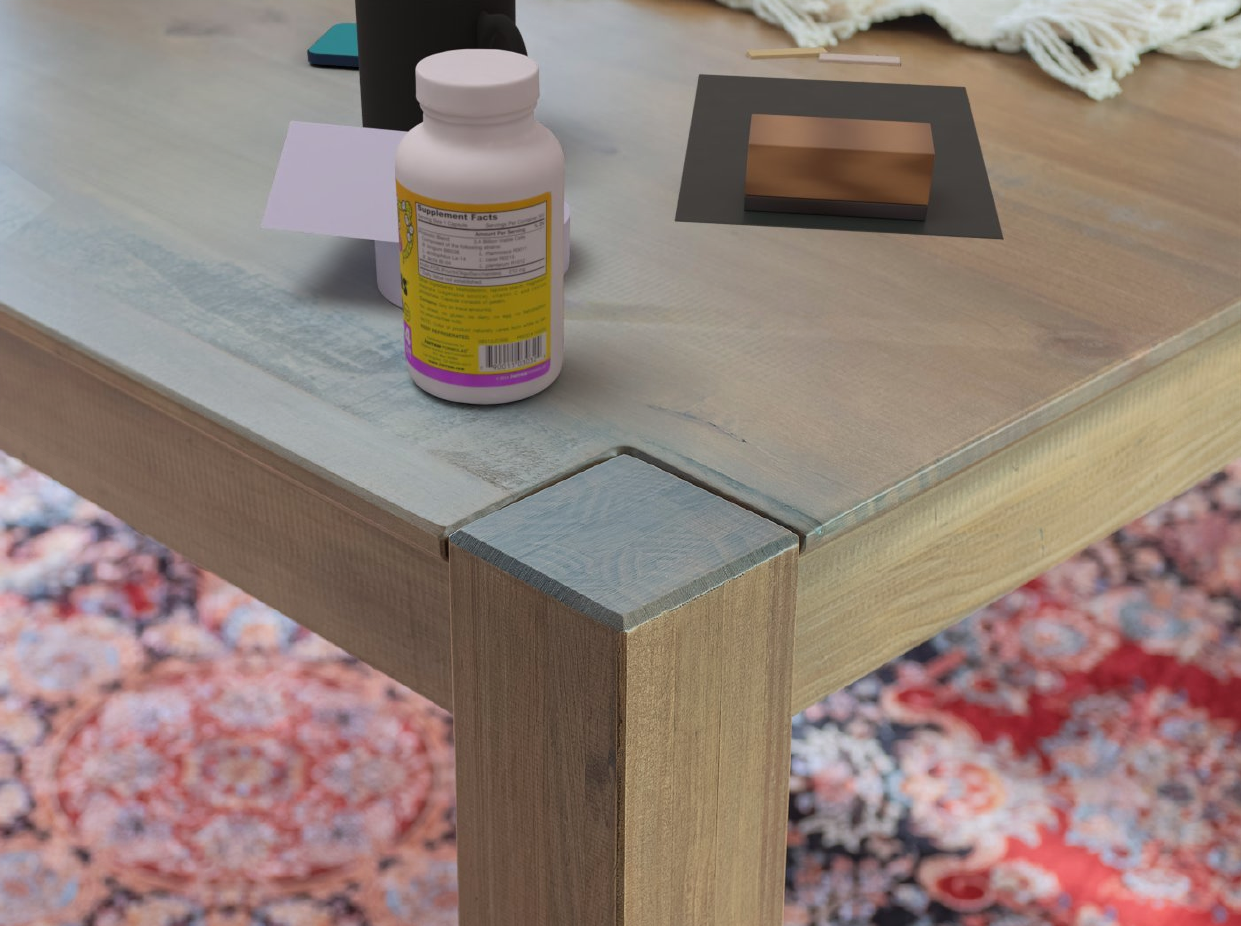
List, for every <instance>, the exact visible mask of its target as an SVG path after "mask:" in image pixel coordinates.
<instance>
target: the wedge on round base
mask: <svg viewBox="0 0 1241 926" xmlns="http://www.w3.org/2000/svg"><path fill="white" fill-rule="evenodd" d="M407 133H408V132H405V131H395V130H384V129H374V128H363V126H351V125H342V124H331V123H321V122H312V121H311V122H310V121H299V120H290V123H289V125H288V129H287V134H286V136H285V140H284V144H283V147H282V149H281V154H280V157H279V161H278V164H277V168H276V171H275V175H274V177H273V182H272V185H271V188H270V192H269V196H268V199H267V202H266V205H265V210H264V213H263V216H262V220H261V222H260V226H259V227H260V228H261V229H269V230H279V231H288V232H297V233H306V234H316V235H326V236H334V237H343V238H351V239H352V238H353V239H361V240H372V241H374V251H375V252H374V253H375V267H376V268H375V269H376V270H375V271H376V283H377V288H378V290H379V292H380V294H381V295H382V296H383V297H384V298H385V299H386V300H387V301H389V302H390V303H391V304H393V305H395V306H397V307H399V308H401V309H402V290H401V271H400V252H399V233H398V215H397V197H396V181H395V155H396V151H397V148H398V146H399V144H400V142H401V140H402V139H403V137H404V136H405V135H406V134H407ZM570 259H571V207H570V205H569V204H568V202H567V201H566V200H565V199H564V275H566V273H567V271H568V270H569V267H570V262H571V261H570Z"/></svg>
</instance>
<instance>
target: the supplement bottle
mask: <svg viewBox="0 0 1241 926" xmlns="http://www.w3.org/2000/svg"><path fill="white" fill-rule="evenodd" d="M540 89H541V88H540V67H539V64H538V63H537V61H535V60H534V59H533V58H531V57H529V56H528V57H527V56H525V55H522V54H518V53H515V52H510V51H504V50H496V49H462V50H452V51H446V52H442V53H438V54H434V55H431V56H428V57H426V58H424V59H423V60H421V61H420V62H419V63H418V64H417V66H416V98H417V100H418V102H419V103H420V107H421V109H422V110H423V111H424V112H423V122H422V123H420V124H418V125H417V126H415V127H414V128H412V129H411V130H410V131H409V132H408V133H407V134H406V135H405V136H404V137H403V139H402V140H401V142H400V144H399V146H398V148H397V151H396V155H395V181H396V197H397V215H398V233H399V252H400V271H401V290H402V308H401V309H402V325H403V326H402V327H403V342H404V345H403V346H404V353H405V365H406V369H407V372H408V375H409V376H410V378H411V379H412V381H413V382H414V383H415V384H416V385H417V386H418V387H419V388H420V389H422V390H423V391H425V392H426V393H428V394H429V395H432V396H434V397H436V398H439V399H443V400H446V401H449V402H454V403H462V404H470V405H471V404H472V405H498V404H499V405H500V404H507V403H512V402H518V401H520V400H524V399H527V398H529V397H532V396H534V395H536V394H538V393H541V392H542V391H544V390H545V389H547V388H548V387H549V386H550V385H552V384H553V383H554V381H555V380H556V379H557V378H558V376H559V375H560V373H561V371H562V368H563V363H564V336H565V335H564V331H565V330H564V329H565V327H564V324H565V323H564V319H565V318H564V317H565V316H564V315H565V314H564V313H565V312H564V311H565V310H564V308H565V307H564V305H565V304H564V303H565V301H564V300H565V299H564V295H565V293H564V292H565V289H564V287H565V286H564V285H565V284H564V282H565V281H564V280H565V278H564V277H565V276H564V275H565V274H564V200H565V156H564V151H563V148H562V145H561V144H560V142H559V140H558V139H557V137H556V136H555V134H554V133H553V132H552V131H551V130H550V129H548V128H547V127H546V126H545V125H543V124H541V123H540V122H538V121H536V120H535V110H536V109H537V106H538V101H539V99H540V97H541V95H540V94H541V91H540Z"/></svg>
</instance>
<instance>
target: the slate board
mask: <svg viewBox="0 0 1241 926" xmlns="http://www.w3.org/2000/svg"><path fill="white" fill-rule="evenodd" d="M697 79H698V80H697V83H696V84H697V85H696V91H695V97H694V103H693V110H692V115H691V121H690V127H689V133H688V140H687V143H686V144H687V145H686V149H685V157H684V163H683V168H682V175H681V180H680V186H679V192H678V199H677V204H676V211H675V217H674V222H678V223H679V222H680V223H696V224H715V225H730V226H731V225H732V226H733V225H734V226H751V227H766V228H767V227H769V228H785V229H786V228H788V229H803V230H805V229H806V230H821V231H823V230H824V231H839V232H840V231H841V232H859V233H876V234H879V233H880V234H893V235H895V234H896V235H912V236H913V235H914V236H930V237H931V236H934V237H949V238H951V237H952V238H966V239H967V238H968V239H988V240H1004V236H1003V231H1002V227H1001V223H1000V219H999V216H998V212H997V207H996V204H995V200H994V196H993V191H992V188H991V183H990V180H989V176H988V172H987V167H986V163H985V160H984V155H983V152H982V147H981V143H980V140H979V136H978V132H977V127H976V124H975V120H974V116H973V112H972V111H973V110H972V107H971V104H970V100H969V96H968V93H967V91H968V90H967V88H966V86H952V85H933V84H912V83H911V84H910V83H893V82H892V83H891V82H890V83H889V82H872V81H871V82H869V81H853V80H852V81H851V80H833V79H832V80H831V79H830V80H829V79H810V78H809V79H807V78H789V77H788V78H786V77H769V76H768V77H767V76H765V77H764V76H746V75H727V74H725V75H724V74H705V73H703V74H702V73H699V75H698V78H697ZM752 114H764V115H783V116H802V117H821V118H839V119H858V120H877V121H896V122H915V123H930V125H931V131H932V138H933V144H934V151H935V159H934V166H933V173H932V180H931V187H930V194H929V201H928V205H927V206H928V208H927V215H926V220H925V221H917V220H900V219H883V218H866V217H849V216H831V215H814V214H797V213H780V212H763V211H745V210H744V198H745V184H746V171H747V158H748V144H749V135H750V126H751V117H752Z"/></svg>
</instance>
